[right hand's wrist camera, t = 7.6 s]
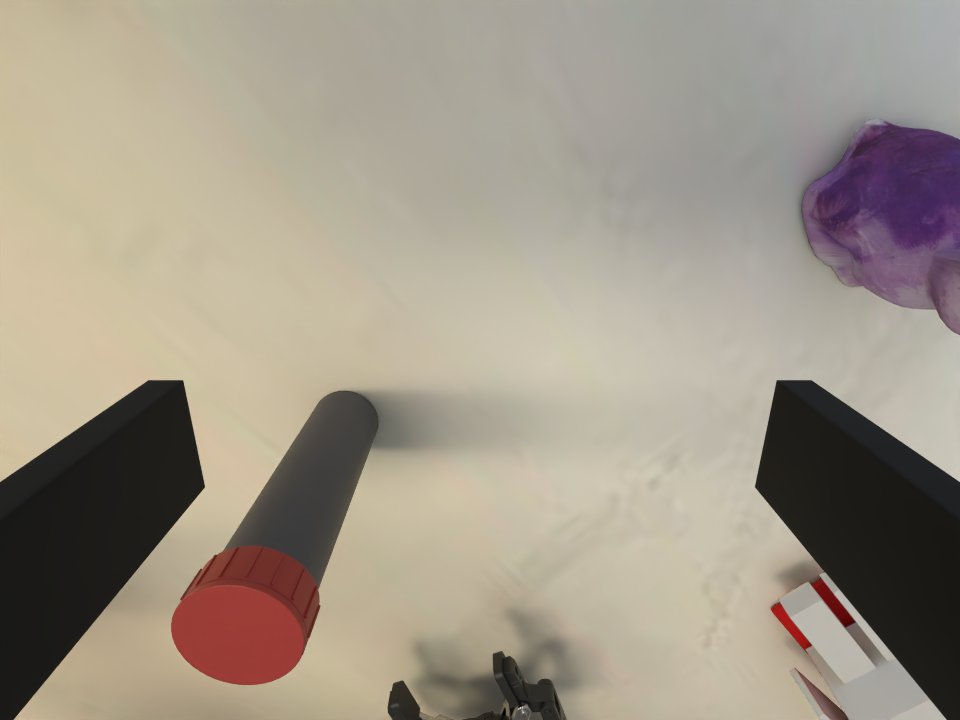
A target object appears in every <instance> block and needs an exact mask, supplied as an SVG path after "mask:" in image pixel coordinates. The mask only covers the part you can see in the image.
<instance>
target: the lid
mask: <svg viewBox="0 0 960 720" xmlns="http://www.w3.org/2000/svg"><path fill="white" fill-rule="evenodd" d="M180 600H182V601H181V602H180V604H179V605H178V607H177V609H176V610H175V612H174V615H173V618H172V623H171V632H172V637H173V640H174V643H175V645H176V647H177V649H178V651H179V652H180V654H181V655H182V656H183V657H184V658H185V660H186V661H187V662H188V663H190V664H191V665H192V666H193V667H194V668H196V669H197V670H199V671H200V672H202V673H204V674H206V675H207V676H210V677H212V678H214V679H217V680H220V681H223V682H227V683H232V684H239V685H257V684H263V683H267V682H271V681H274V680H276V679H279V678H281V677H282V676H284V675H286V674H287V673H289V672H290V671H291V670H292V669H293V668H294V667H295V666H296V665H297V663H298V662H299V660H300V658H301V656H302V655H303V653H304V650H305V647H306V644H307V641H308V639H309V638H310V635H311V632H312V629H313V626H314V623H315V621H316V618H317V615H318V612H319V609H320V605H319V592H318V586H317V585H316V583H315V581H314V579H313V577H312V576H311V574H310V573H309V572H308V570H307V569H306V568H305V567H304V566H303V565H302V564H300V563H299V562H298V561H297V560H295V559H294V558H292V557H290V556H289V555H287V554H285V553H283V552H280V551H277V550H275V549H271V548H267V547H261V546H241V547H235V548H232V549H228V550H226V551H223V552H221V553H219V554H218V555H214V556H213V558H212V559H211V560H210V561H209V562H208V563H207V564H206V565H205V566H204V568H203V569H200V570H199V572H198V573H197V575H196V576H195V578H194V579H193V581H192V582H191V584H190V585H189V587H188V588H187V590H186V591H185V593H184V594H183V596H182V597H181V599H180Z"/></svg>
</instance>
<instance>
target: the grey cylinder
mask: <svg viewBox="0 0 960 720" xmlns="http://www.w3.org/2000/svg"><path fill="white" fill-rule="evenodd" d="M377 429H378V416H377V413H376V411H375V409H374V407H373V406H372V404H371V403H370V402H369V401H368V400H367V399H365V398H364V397H362V396H361V395H359V394H356V393H353V392H348V391H339V392H334V393H331V394H329V395H327V396H325V397H324V398H323V399H322V400H321V401H320V402H319V403H318V405H317V406H316V408H315V409H314V411H313V412H312V414H311V415H310V417H309V419H308V420H307V422H306V423H305V425H304V426H303V428H302V429H301V431H300V433H299V434H298V436H297V437H296V439H295V440H294V442H293V443H292V445H291V446H290V448H289V450H288V451H287V453H286V454H285V456H284V457H283V459H282V460H281V462H280V464H279V465H278V467H277V468H276V470H275V471H274V473H273V474H272V476H271V478H270V479H269V481H268V482H267V484H266V485H265V487H264V488H263V490H262V491H261V493H260V495H259V496H258V498H257V499H256V501H255V502H254V504H253V505H252V507H251V509H250V510H249V512H248V513H247V515H246V516H245V518H244V519H243V521H242V523H241V524H240V526H239V527H238V529H237V530H236V532H235V533H234V535H233V536H232V538H231V540H230V541H229V543H228V544H227V546H226V547H225V549H224V550H223V551H226V550H228V549H232V548H235V547H241V546H261V547H267V548H271V549H275V550H277V551H280V552H283V553H285V554H287V555H289V556H290V557H292V558H294V559H295V560H297V561H298V562H299V563H300V564H302V565H303V566H304V567H305V568H306V569H307V570H308V572H309V573H310V574H311V576H312V577H313V579H314V581H315V583H316V585H317V586H318V589H319V586H320V583H321V581H322V578H323V575H324V573H325V570H326V567H327V564H328V562H329V559H330V556H331V554H332V551H333V548H334V546H335V543H336V540H337V537H338V535H339V532H340V529H341V527H342V524H343V521H344V518H345V516H346V513H347V510H348V508H349V505H350V502H351V500H352V497H353V494H354V491H355V489H356V486H357V483H358V481H359V478H360V475H361V473H362V470H363V467H364V464H365V462H366V459H367V456H368V454H369V451H370V448H371V446H372V443H373V440H374V437H375V435H376V432H377Z"/></svg>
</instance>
